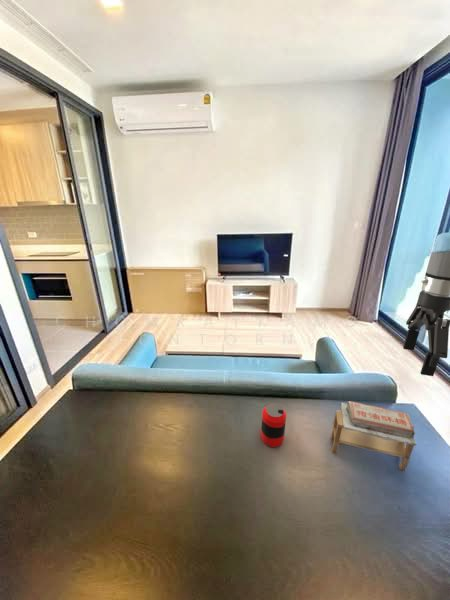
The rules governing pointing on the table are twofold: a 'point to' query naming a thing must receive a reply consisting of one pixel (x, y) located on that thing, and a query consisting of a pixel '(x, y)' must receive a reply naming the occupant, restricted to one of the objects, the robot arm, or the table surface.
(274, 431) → the soda can
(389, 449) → the rack
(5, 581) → the table surface
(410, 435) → the packaged product
